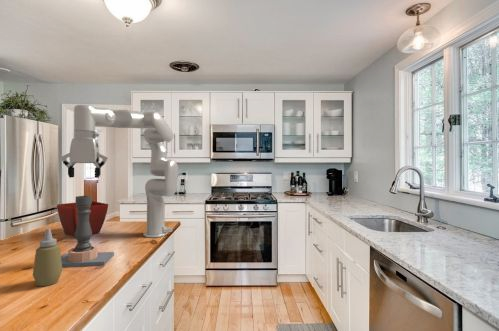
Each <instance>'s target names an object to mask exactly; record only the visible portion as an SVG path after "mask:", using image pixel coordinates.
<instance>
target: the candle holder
mask: <svg viewBox="0 0 499 331" xmlns="http://www.w3.org/2000/svg"><path fill="white" fill-rule="evenodd" d="M92 201H93V195H77V196H75V203H76V205H77V206H76V207H77V208H78V211H77V212H76V213H77V214H78V225H77V228H76V232H75V237H74V239H75V240H76V242H77V244H76V245H75V247H74V248H76V249H75V251H74V252H85V251H89V250H92V248H91V245H92V243H91V242H90V239H91V238H92V236H93V235H92V231H91V227H90V223H89V214H90V213H91V210H89V208H90V206H91V204H92Z"/></svg>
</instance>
